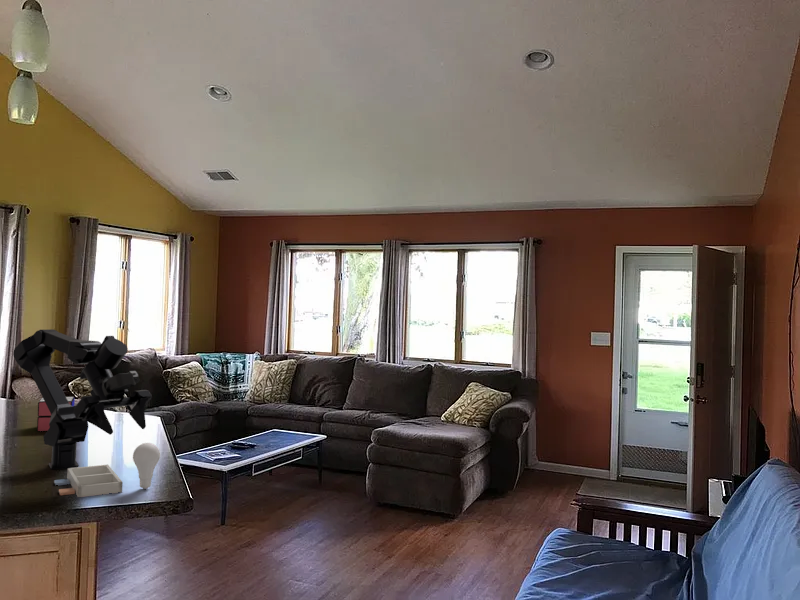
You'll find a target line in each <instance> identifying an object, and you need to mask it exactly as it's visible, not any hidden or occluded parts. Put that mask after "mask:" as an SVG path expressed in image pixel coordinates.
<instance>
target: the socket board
mask: <svg viewBox="0 0 800 600" xmlns="http://www.w3.org/2000/svg"><path fill="white" fill-rule="evenodd" d="M66 469H67V470H66V473H67V475H66V478H62V479H55V480H53V484H54V485H55V486H56V485H58V486H66V485H67V484H68V485H71V487H68V488H59V489H58V493H59V496H68V495H76V496H77V498H84V497H93V496H102V494H103V495H110V494H109V493H112V494H119V493H118V492H120V493H123V480H121V478H120V476H118V475H117V474H116V472H115V471H114V469H112V467H111V466H110V465H109V464H101V465H89V466H88V465H87V466H79V467H74V468H66Z"/></svg>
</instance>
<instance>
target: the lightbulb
mask: <svg viewBox="0 0 800 600" xmlns="http://www.w3.org/2000/svg"><path fill="white" fill-rule="evenodd" d="M160 458H161V450H160V449H159V447H158V446H157V445H156V444H154V443H152V442H144V443H141V444H139V445H138V446H136V448H135V449H134V451H133V454H132V460H133V462H134V465H135V466H136V467H135V468H136V469H137V473H138V479H139V487H140V488H142V489H143V490H147V489H148V488H150V487H151V486H152V478H153V476H154V471H155V469H156V466H157V464H158V463H159V461H160Z"/></svg>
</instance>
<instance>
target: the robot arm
mask: <svg viewBox="0 0 800 600" xmlns="http://www.w3.org/2000/svg"><path fill="white" fill-rule="evenodd" d="M128 350H129V349H128V346H127V344H125V343H124V342H122V341H121V340H120V339H117V338H115V336H114V335H106V336H105V337H104V339H103V341H102V342H100V341H99V340H86V339H85V340H83V339H77V338H75V337H72V336H70V335H67V334H64V333H62V332H59V331H58V330H57V329H39V330H36V331H35V332H34V334H32V335H29V336H28V337H25V338H24V339H23V340H21V341H20V342H19V343H18V344H17V345H16V347H15V348H14V349H13V358H14V360H15V361H16V363H17V365H18V366H19V368H20V369H22V370H23V371H25V372H27V373H29V374H30V375H31V377H32V378H33V379H32V380H33V381H34V383H35V384H36V387H37V389H38V391H39V392H40V395H41V397H42V398H43V399H44V401H45V403H46V405H47V407H48V409H49V411H50V413H51V418H50V422H49V426H50V428H49V429H48V431H47V432H45V433H44V435H43V438H42V439H43V442H44V445H47V446H51V447H52V448H51V449H52V451H51V462H48V466H49V468H50V470H61V469H67V468H76V467H80V465H79V463H78V462H77V461H76V460H77V443H83V442H85V441H86V437H87V434H88V430H89V423H90V424H92V425H93V426H95V427H97V428H98V429H100V430H102V431H104V432H105V433H107V434H108V435H110V436H111V435H113V433H114V430H113V428H112V425H111V422H110V421H109V418H108V416H107V415H106V413H105V409H106V408H107V409H113V408H120V407H125V408H126V409H127V411H129V412H128V414H129V416H130V417H131V418H132V419H133V421H135V423H136V424H137V425H138V426H139V428H141V430H145V428H146V427H147V423H146V415H145V414H146V413H145V410H146V409H145V407H146V406H147V405H148V404H149V402H150V401H151V400H152V398H153V396H152V394H151V391H150V390H147V389H141V390H134V391H133V392H132V393H131V395H130V396H127V397H125V395H127V394H128V393H129V390H128V389H130V388H131V387H135V386H136V385H137V384H138V383H140V380H141V379H140V376H139V373H138V372H137V371H136V370H129V372H126V373H125V372H124V373H123V372H121V373H118V374H115V375H113V373H112V371H111V370H114V369H116V368H117V367H118V365H119V364H120V363H121V361H122V360H123V359H124V357H125V356H126V354H127V353H128ZM55 351H58V352H60V353H63V354H65V355H67V356H66V358H67V360H69V361H70V362H71V363H72V364H75V365H84V364H85V366H84V367H82V369H81V373H80V374H79V378H80V380H85V379H86V380H87V381H88V383H89V385H90V387H91V391H89V393H90V395H85V396H84V395H83V396H82V397H81V398H80V400H79V401H78V402H77V403H76V405H74V406H71V405H70V404H69V402H68V400H67V398H66V397H67V396H66V394H65V393H64V390H63V388H62V387H61V384H60V383H59V381H58V379H57V378H56V375H55V373H54V371H53V369H52V367H51V365H50V364H51V360H52V357H53V356H52V354H54V352H55Z"/></svg>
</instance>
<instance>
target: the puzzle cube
mask: <svg viewBox="0 0 800 600" xmlns="http://www.w3.org/2000/svg"><path fill="white" fill-rule="evenodd" d="M66 398H67V400H68V402H69V404H70V405H71V406H75V403H76V402H75V397H74V396H66ZM50 418H51V413H50V411H49V409H48V407H47V405H46V403H45V401H44V399H43V397H42V398H40V400H39V401H38V403H37V420H36V421H37V426H36V431H37V432H38V431H40V432H41V431H42V432H43V431H48V429H49V428H50V426H49V422H50ZM40 432H39V433H40ZM42 432H41V433H42ZM43 433H44V432H43Z"/></svg>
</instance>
